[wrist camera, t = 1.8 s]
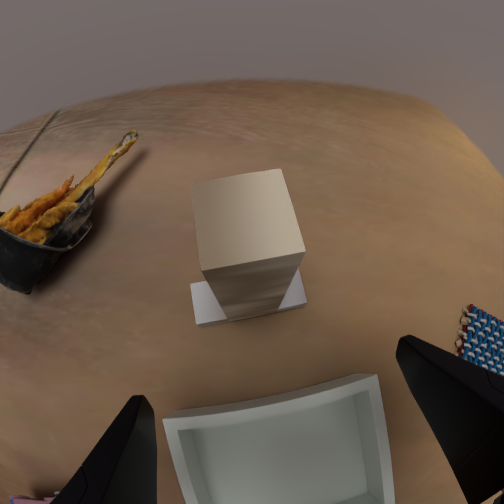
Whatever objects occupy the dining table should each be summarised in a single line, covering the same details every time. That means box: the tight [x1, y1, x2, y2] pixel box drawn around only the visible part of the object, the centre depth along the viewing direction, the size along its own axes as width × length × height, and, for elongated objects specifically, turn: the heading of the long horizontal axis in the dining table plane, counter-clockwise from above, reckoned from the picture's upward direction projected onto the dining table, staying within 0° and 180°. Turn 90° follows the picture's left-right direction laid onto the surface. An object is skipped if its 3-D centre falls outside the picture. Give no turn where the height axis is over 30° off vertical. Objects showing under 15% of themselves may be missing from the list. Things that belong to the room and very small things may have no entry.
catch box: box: [162, 373, 395, 504], centre depth 15 cm, size 14×12×4 cm
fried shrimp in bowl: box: [0, 130, 138, 294], centre depth 20 cm, size 9×11×18 cm
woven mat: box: [454, 304, 504, 376], centre depth 18 cm, size 10×11×2 cm
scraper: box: [190, 169, 307, 327], centre depth 16 cm, size 8×3×13 cm, turn 101°
